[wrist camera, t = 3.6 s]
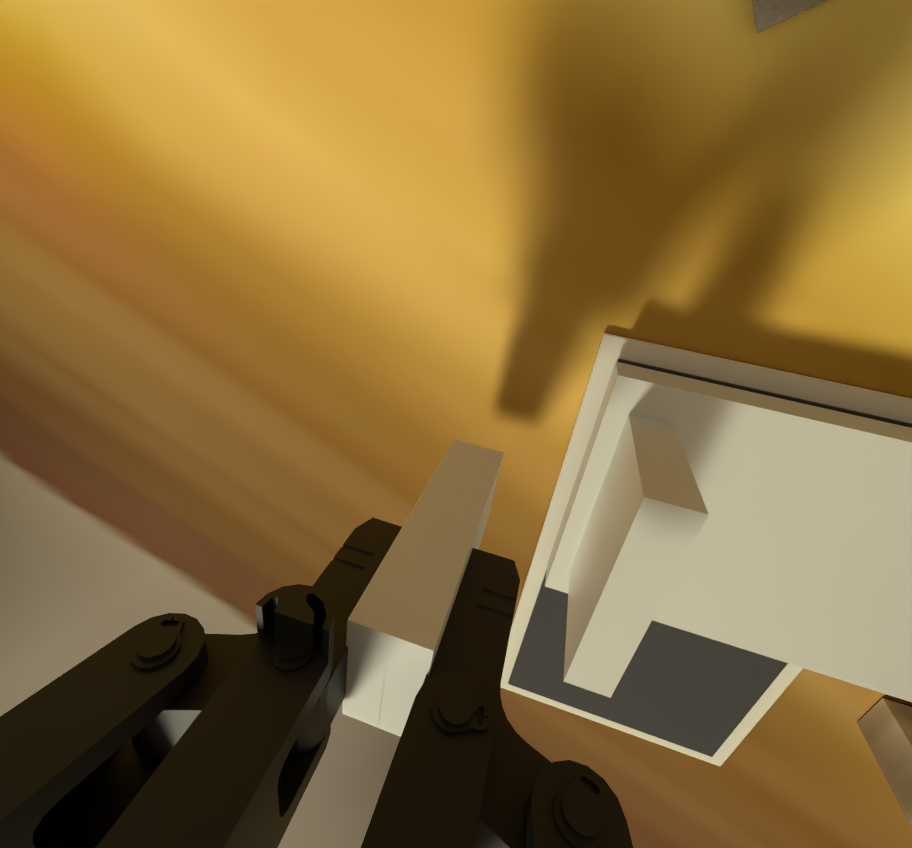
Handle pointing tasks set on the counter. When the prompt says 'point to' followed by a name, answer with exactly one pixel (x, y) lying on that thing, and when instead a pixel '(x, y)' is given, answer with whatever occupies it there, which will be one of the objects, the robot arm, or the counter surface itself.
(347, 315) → the counter surface
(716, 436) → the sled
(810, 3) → the condiment
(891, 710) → the tunnel
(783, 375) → the pad
